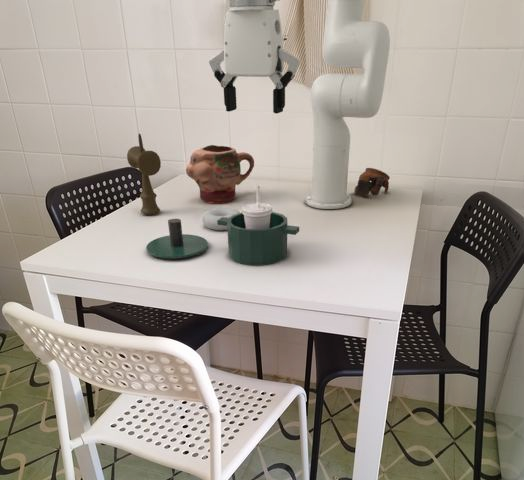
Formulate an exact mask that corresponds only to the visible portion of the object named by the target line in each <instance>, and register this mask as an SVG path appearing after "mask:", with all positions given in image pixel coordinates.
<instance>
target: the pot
mask: <svg viewBox="0 0 524 480" xmlns="http://www.w3.org/2000/svg"><path fill="white" fill-rule="evenodd" d="M217 225H223V226H227V230H226V231H227V244H228V245H227V246H228V255H229V258H230V259H231V260H232V261H234V262H235V263H238V264H242V265H245V266H246V265H247V266H268V265H272V264H276V263H279V262H282V261H283V260H284V259H285V258H286V257H288V235H293V236H296V235H297V234H298V233H299V232H300V226H296V225H288V217H287V216H285V215H284V214H282V213H279V212H275V211H273V212H272V213H271V217H270V226H269V228H266V229H246V226H245V220H244V215H243V214H242V212H240V213H239V214H236V215H233V216H231V217H230V218H225V217H222V218H220V219H219V220H217Z"/></svg>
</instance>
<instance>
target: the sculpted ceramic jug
mask: <svg viewBox="0 0 524 480" xmlns="http://www.w3.org/2000/svg"><path fill="white" fill-rule="evenodd" d="M189 160H190V161H189V163H188V165H187V166H186V168H185V173H186V175H187V176H188V177H189V178H190V179H192V180H194V182H195V183H196V184H197V186H198V188H199V198H200V200H201V201H203V202H206V203H210V204H226V203H230V202H232V201H234V200H235V197H236V187H237V186H239V185H241V184H242V183H243V182H244V181H245V180H246V179H247V178H248V177H249V176H250V175H251V173H252V171H253V169H254V168H255V160H254V157H253V156H252V155H251V154H250V153H248V152H244V151H243V152H237V150H236V148H234V147H231V146H225V145H214V144H210V145H207V146H203V147H201V148H199V149H196V150H195V151H193V152H192V153H191V156H190V159H189ZM242 161H246V162H248V164H249V167H248V169H247V171H246V172H245V173H241V171H242V170H241V169H242V167H241V162H242Z"/></svg>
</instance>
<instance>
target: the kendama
mask: <svg viewBox="0 0 524 480" xmlns="http://www.w3.org/2000/svg"><path fill="white" fill-rule="evenodd" d="M137 138H138V145H135V146H132V147H130V148H129V149H128V150H127V155H126V159H127V163H128V164H129V166H130V167H131V168H134V169H138V171H139V172H140V173H141V179H142V180H141V193H140V194H139V198H140V199H141V202H142V203H141V204H142V206H141V209H140V213H141V214H143V215H146V216H147V215H149V216H151V215H156V214H158V213H160V211H161V208H160V207H159V206H158V204H157V200H156V199H157V196H158V195H157V194H156V192H155V191H154V189H153V186H152V183H151V179H150V177H152V176H154V175H156V174H158V173H159V171H160V170H161V168H162V167H161V166H162V165H161V164H162V163H161V162H162V161H161V157H160V156H159V154H158V153H157V152H155V151H153V150H146V149H145V148H144V143H143V137H142V134H141V133H138V135H137Z"/></svg>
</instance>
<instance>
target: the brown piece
mask: <svg viewBox="0 0 524 480" xmlns="http://www.w3.org/2000/svg"><path fill="white" fill-rule="evenodd" d="M364 170H365V171H363V172H362V173H361V174H360V175H359V177H358V180H357V184H356V185H355V187H354V192H353V195H357V196H360V197H363V198H366V199H367V198H368V197H369V194H371V195H372V196H378V195H379V194H380V191H381V188H382V187H383V188H384V194H386V193H388V191H389V188H390V185H389V184H390V181H389V180H390V178H391V177H390V176H389V175H388V174H387V173H386V172H384V171H382V170H380V169H377V168H373V167H366V168H365V169H364Z"/></svg>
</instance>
